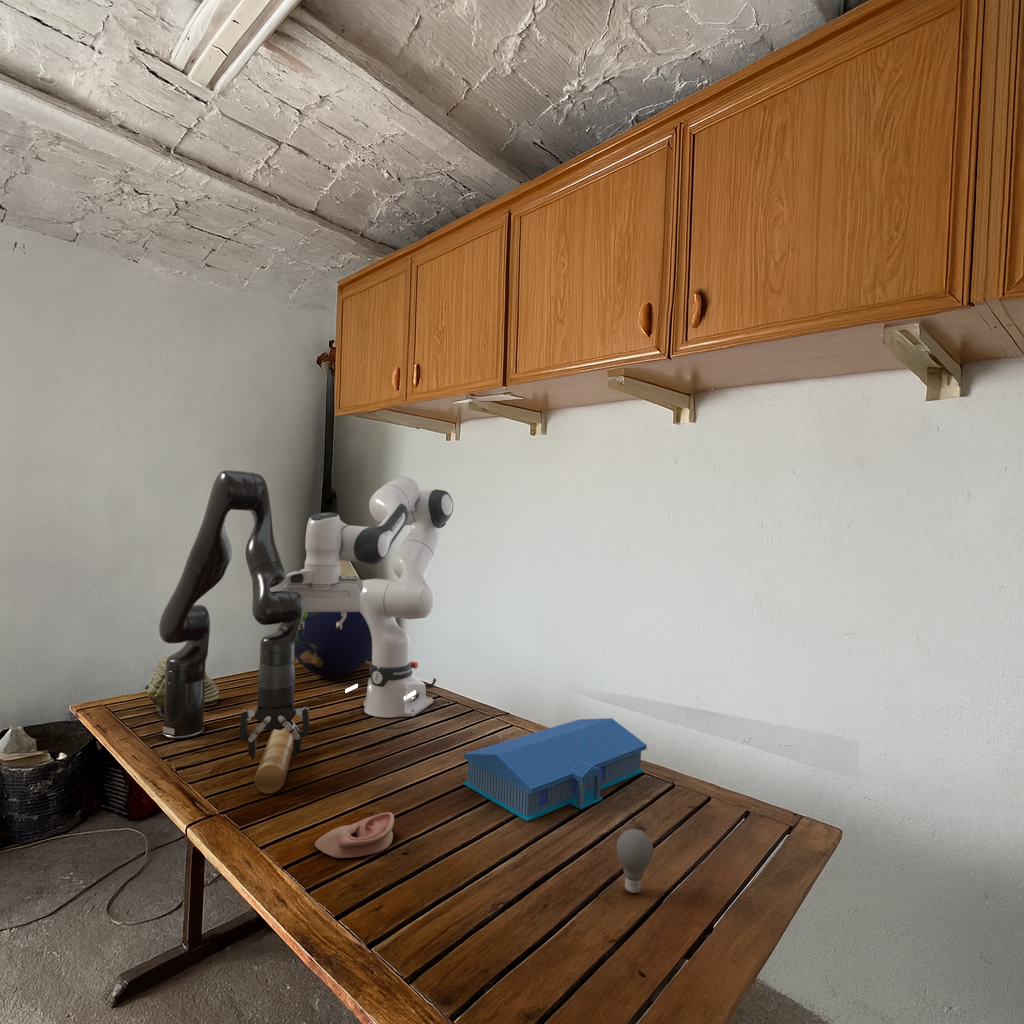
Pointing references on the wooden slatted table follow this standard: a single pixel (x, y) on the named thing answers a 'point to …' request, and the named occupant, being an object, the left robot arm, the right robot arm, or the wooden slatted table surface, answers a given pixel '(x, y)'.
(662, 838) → the wooden slatted table surface
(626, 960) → the wooden slatted table surface
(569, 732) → the model building
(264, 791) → the rod
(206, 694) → the fossil
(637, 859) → the light bulb
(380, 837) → the anatomical model
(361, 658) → the globe
